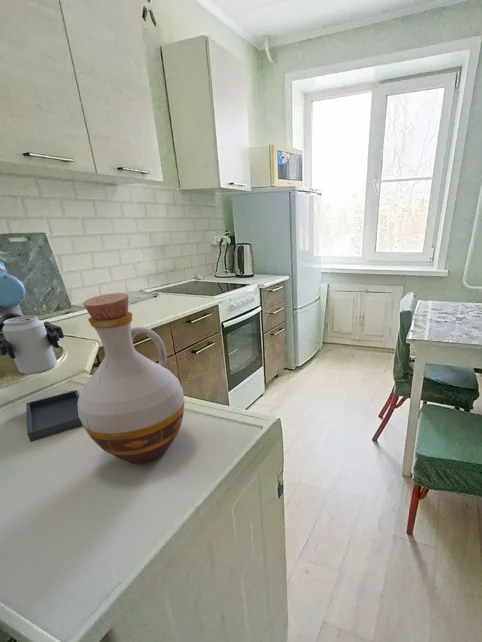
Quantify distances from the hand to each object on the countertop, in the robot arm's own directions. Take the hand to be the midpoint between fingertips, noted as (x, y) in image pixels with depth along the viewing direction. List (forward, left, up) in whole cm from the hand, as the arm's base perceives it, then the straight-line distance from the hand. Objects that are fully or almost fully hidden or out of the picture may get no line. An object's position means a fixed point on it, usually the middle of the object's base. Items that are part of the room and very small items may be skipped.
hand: (34, 346), depth 75 cm
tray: (-1, +1, -18) cm, 18 cm away
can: (-3, +4, -7) cm, 8 cm away
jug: (+23, -17, -18) cm, 34 cm away
